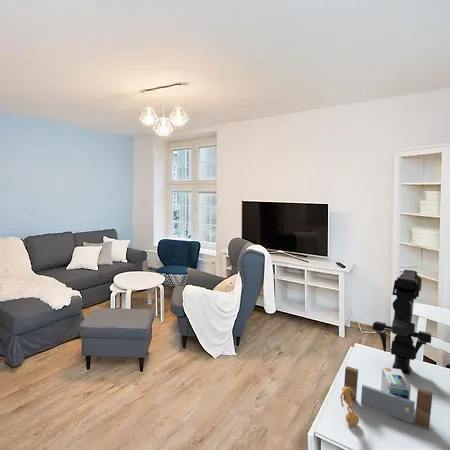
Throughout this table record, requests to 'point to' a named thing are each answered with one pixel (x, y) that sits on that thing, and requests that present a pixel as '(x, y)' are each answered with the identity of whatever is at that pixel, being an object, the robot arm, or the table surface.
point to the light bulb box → (395, 383)
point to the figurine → (350, 416)
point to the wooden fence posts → (421, 407)
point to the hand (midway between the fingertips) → (398, 355)
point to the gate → (388, 403)
